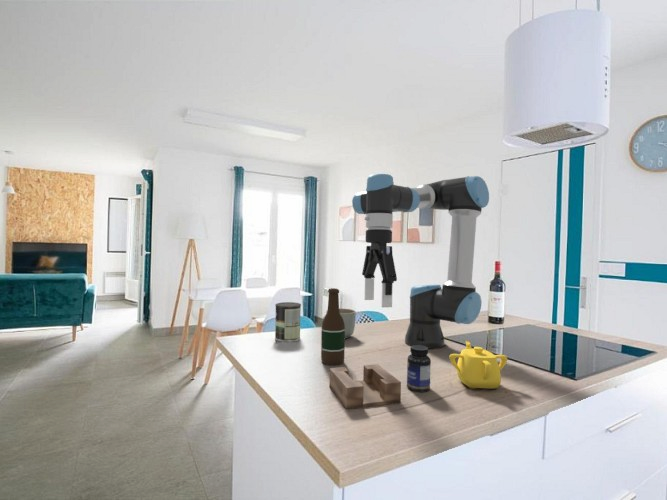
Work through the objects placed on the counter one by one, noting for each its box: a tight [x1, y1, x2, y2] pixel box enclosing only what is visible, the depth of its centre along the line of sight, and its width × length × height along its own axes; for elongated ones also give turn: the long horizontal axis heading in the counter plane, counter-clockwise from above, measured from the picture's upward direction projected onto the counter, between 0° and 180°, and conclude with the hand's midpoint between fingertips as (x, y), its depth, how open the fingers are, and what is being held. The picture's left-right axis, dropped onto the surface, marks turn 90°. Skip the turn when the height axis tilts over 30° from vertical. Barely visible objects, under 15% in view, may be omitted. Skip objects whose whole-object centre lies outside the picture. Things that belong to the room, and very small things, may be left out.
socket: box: [329, 363, 402, 410], centre depth 94 cm, size 14×14×5 cm
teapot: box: [449, 340, 508, 390], centre depth 103 cm, size 14×13×10 cm
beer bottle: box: [320, 288, 346, 366], centre depth 120 cm, size 8×8×24 cm
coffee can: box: [274, 301, 302, 343], centre depth 148 cm, size 10×10×14 cm
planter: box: [325, 307, 357, 339], centre depth 153 cm, size 12×12×11 cm
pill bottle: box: [406, 345, 432, 393], centre depth 99 cm, size 6×6×11 cm
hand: (377, 303), depth 105 cm, fingers open, 13 cm apart
